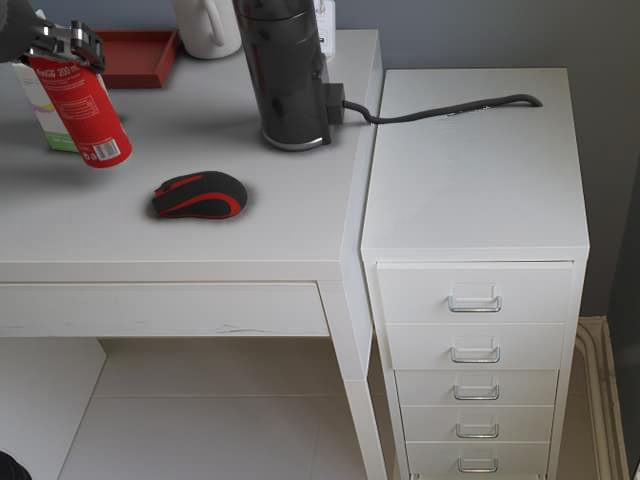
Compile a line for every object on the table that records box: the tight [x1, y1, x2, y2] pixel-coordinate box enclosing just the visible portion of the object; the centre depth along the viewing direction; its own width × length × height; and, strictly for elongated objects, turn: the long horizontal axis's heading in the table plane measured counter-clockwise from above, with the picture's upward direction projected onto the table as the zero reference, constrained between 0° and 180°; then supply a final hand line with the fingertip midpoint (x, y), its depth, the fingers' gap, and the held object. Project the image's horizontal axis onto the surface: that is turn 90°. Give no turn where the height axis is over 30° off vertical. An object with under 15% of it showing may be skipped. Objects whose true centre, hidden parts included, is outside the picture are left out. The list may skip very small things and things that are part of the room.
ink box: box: [11, 9, 114, 153], centre depth 92 cm, size 9×5×15 cm, turn 168°
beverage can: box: [28, 46, 133, 171], centre depth 83 cm, size 6×6×15 cm
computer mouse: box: [151, 170, 248, 220], centre depth 87 cm, size 6×11×4 cm, turn 94°
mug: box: [170, 0, 242, 60], centre depth 108 cm, size 12×8×11 cm
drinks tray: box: [91, 29, 183, 89], centre depth 108 cm, size 14×13×2 cm
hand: (72, 63), depth 82 cm, fingers closed on beverage can, 5 cm apart
